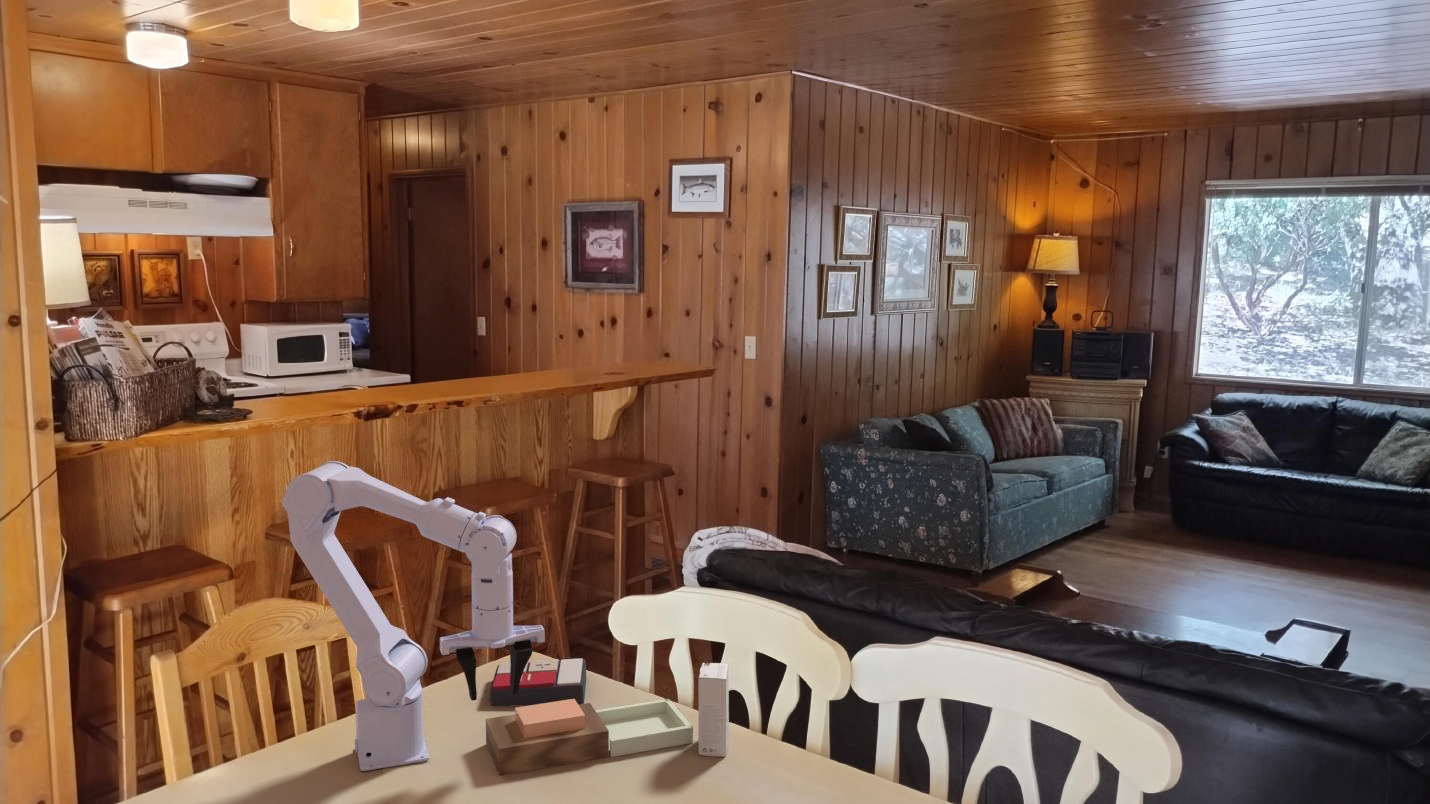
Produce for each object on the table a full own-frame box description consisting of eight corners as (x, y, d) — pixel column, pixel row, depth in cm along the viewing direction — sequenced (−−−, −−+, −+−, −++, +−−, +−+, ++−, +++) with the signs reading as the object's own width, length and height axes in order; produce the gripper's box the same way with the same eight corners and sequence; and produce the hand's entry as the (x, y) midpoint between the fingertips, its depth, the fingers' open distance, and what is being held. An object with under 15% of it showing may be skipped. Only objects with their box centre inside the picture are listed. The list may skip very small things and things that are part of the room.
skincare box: (727, 757, 154) (728, 679, 152) (696, 755, 155) (698, 677, 153) (729, 737, 160) (731, 662, 159) (700, 736, 161) (701, 661, 159)
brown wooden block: (499, 775, 148) (498, 748, 147) (486, 744, 157) (485, 718, 156) (608, 756, 154) (608, 730, 153) (589, 727, 163) (589, 702, 162)
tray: (611, 756, 154) (611, 740, 153) (591, 725, 163) (591, 710, 163) (692, 742, 159) (693, 727, 158) (668, 713, 168) (668, 698, 168)
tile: (524, 737, 151) (523, 724, 150) (515, 720, 156) (515, 707, 156) (585, 728, 154) (585, 715, 154) (574, 711, 159) (574, 698, 159)
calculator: (497, 659, 180) (585, 654, 181) (499, 683, 181) (586, 678, 182) (488, 686, 169) (582, 680, 170) (490, 711, 170) (583, 705, 171)
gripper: (444, 619, 142) (446, 713, 145) (549, 606, 148) (550, 698, 150) (437, 602, 149) (438, 693, 151) (538, 591, 154) (538, 678, 157)
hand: (493, 694), depth 151 cm, fingers open, 5 cm apart
